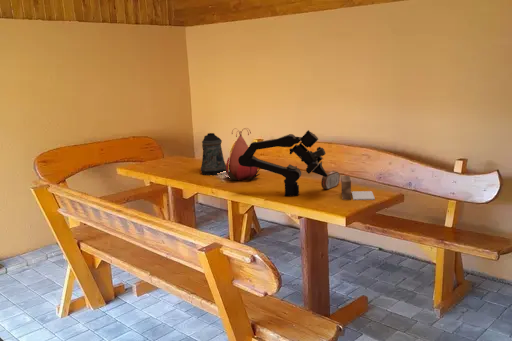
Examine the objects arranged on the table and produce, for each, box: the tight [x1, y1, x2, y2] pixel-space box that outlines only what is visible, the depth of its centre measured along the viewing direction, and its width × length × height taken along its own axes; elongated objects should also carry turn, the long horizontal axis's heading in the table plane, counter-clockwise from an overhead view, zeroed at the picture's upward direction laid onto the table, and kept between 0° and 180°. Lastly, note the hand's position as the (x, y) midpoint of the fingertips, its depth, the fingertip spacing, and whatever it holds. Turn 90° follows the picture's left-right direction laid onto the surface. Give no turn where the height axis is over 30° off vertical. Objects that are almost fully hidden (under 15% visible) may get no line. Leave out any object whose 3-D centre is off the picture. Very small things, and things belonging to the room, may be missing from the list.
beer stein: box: [200, 132, 226, 176], centre depth 303 cm, size 16×19×25 cm
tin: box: [320, 170, 341, 190], centre depth 253 cm, size 15×3×8 cm, turn 141°
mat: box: [351, 190, 376, 201], centre depth 234 cm, size 10×14×1 cm
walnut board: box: [340, 175, 352, 201], centre depth 234 cm, size 4×12×9 cm, turn 172°
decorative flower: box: [224, 127, 261, 182], centre depth 280 cm, size 22×23×30 cm
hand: (326, 176), depth 236 cm, fingers closed
